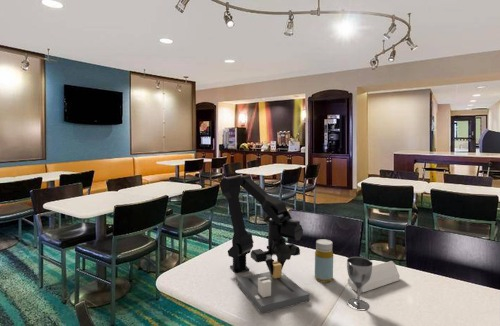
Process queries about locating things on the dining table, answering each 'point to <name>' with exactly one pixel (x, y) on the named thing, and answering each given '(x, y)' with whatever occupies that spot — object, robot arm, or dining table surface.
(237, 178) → the robot arm
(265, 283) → the fader
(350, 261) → the wine glass
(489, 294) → the dining table surface
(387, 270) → the crystal
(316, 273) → the bottle
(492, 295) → the dining table surface
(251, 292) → the console
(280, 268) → the block
